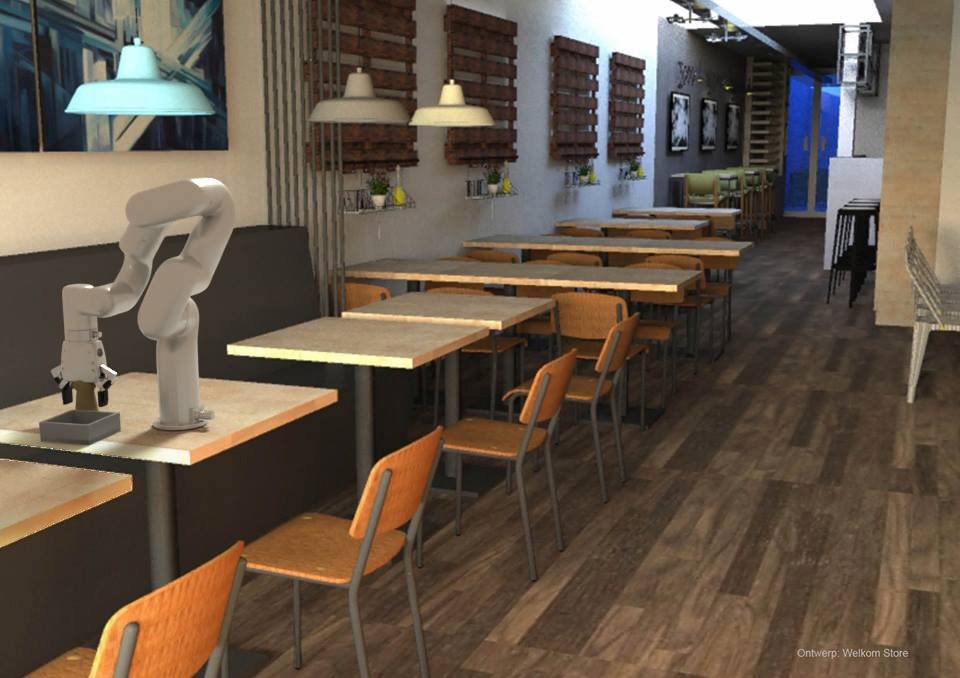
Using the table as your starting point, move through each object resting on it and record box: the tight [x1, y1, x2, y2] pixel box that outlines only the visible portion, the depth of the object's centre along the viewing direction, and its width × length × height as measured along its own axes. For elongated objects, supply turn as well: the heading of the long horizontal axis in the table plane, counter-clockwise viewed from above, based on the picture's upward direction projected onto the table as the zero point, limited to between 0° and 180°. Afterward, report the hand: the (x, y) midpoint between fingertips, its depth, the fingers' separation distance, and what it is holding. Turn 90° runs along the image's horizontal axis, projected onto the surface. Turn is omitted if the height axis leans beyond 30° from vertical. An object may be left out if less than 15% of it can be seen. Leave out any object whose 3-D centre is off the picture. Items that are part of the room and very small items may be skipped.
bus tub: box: [38, 409, 122, 446], centre depth 249 cm, size 13×13×4 cm
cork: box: [73, 380, 100, 411], centre depth 262 cm, size 6×6×11 cm
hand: (85, 404), depth 263 cm, fingers open, 9 cm apart
